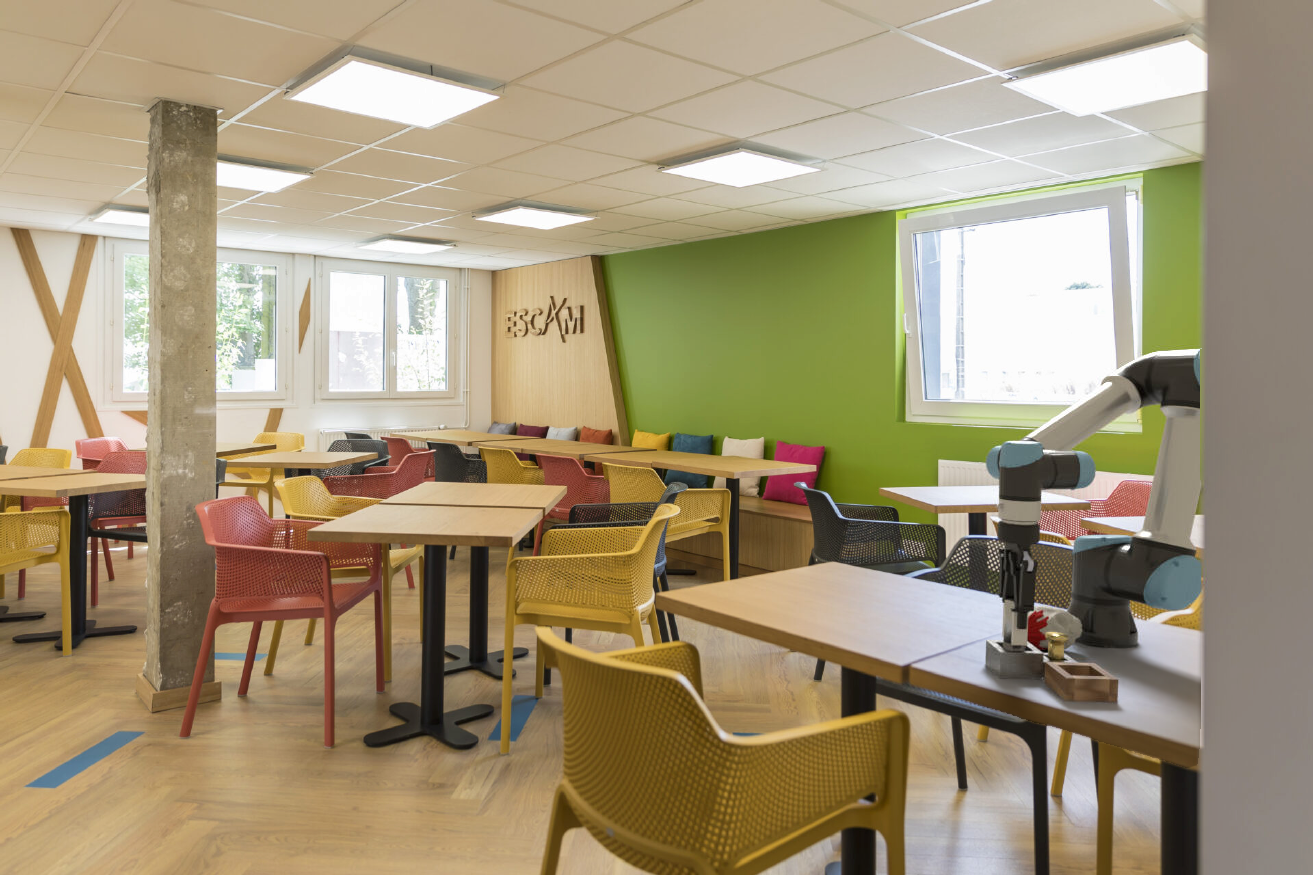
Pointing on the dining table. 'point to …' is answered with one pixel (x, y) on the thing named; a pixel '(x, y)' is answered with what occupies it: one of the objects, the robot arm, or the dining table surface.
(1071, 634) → the white and red lump
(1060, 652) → the gold bolt
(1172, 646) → the dining table surface
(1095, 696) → the wooden box
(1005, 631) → the silver metal cylinder
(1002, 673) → the socket
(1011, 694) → the dining table surface
